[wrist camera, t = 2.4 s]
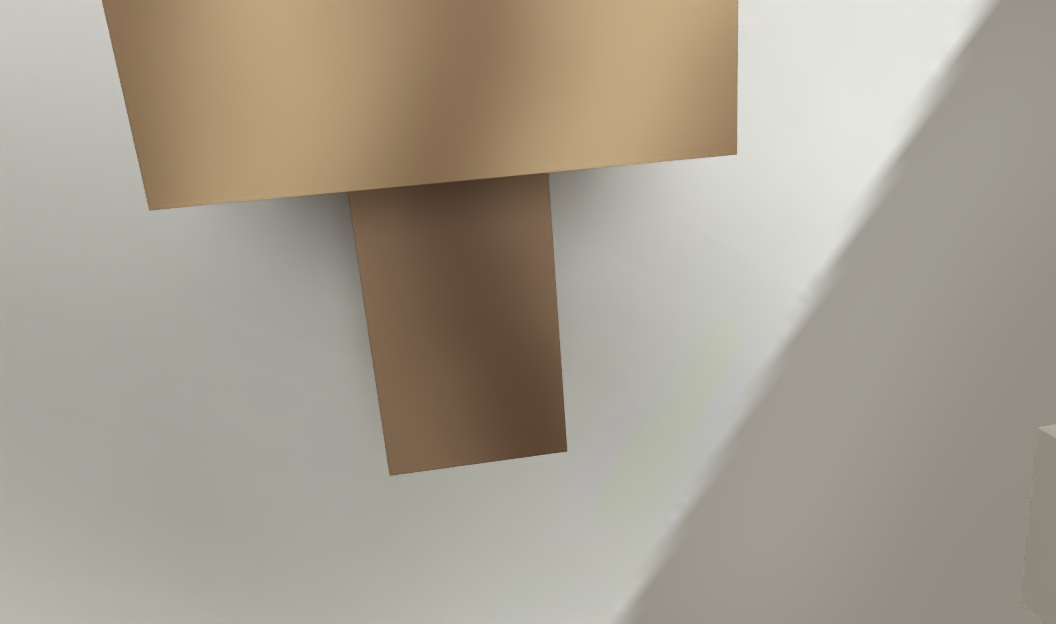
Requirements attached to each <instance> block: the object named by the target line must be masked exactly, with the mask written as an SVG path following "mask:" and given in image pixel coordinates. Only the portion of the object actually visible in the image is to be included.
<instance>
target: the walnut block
mask: <svg viewBox="0 0 1056 624" xmlns="http://www.w3.org/2000/svg"><path fill="white" fill-rule="evenodd" d="M348 198H349V205H350V212H351V218H352V225H353V232H354V239H355V245H356V252H357V259H358V266H359V272H360V279H361V286H362V293H363V299H364V306H365V313H366V320H367V326H368V333H369V340H370V347H371V353H372V360H373V367H374V373H375V380H376V387H377V394H378V400H379V407H380V414H381V421H382V427H383V434H384V441H385V448H386V454H387V461H388V468H389V475H390V476H391V475H398V474H405V473H413V472H420V471H427V470H435V469H442V468H449V467H457V466H464V465H471V464H479V463H486V462H493V461H501V460H508V459H515V458H523V457H530V456H537V455H545V454H552V453H559V452H566V451H567V441H566V427H565V412H564V397H563V383H562V368H561V353H560V339H559V324H558V310H557V295H556V280H555V266H554V251H553V236H552V222H551V207H550V193H549V178H548V172H547V173H537V174H526V175H516V176H505V177H495V178H484V179H474V180H463V181H453V182H442V183H432V184H421V185H411V186H400V187H390V188H379V189H369V190H358V191H348Z"/></svg>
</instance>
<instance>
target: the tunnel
mask: <svg viewBox="0 0 1056 624" xmlns="http://www.w3.org/2000/svg"><path fill="white" fill-rule="evenodd" d="M102 3H103V7H104V12H105V16H106V20H107V25H108V29H109V34H110V38H111V43H112V47H113V51H114V56H115V60H116V65H117V69H118V73H119V78H120V82H121V87H122V91H123V96H124V100H125V104H126V109H127V113H128V118H129V122H130V127H131V131H132V135H133V140H134V144H135V149H136V153H137V158H138V162H139V166H140V171H141V175H142V180H143V184H144V188H145V193H146V197H147V202H148V206H149V210H159V209H169V208H180V207H190V206H201V205H211V204H222V203H232V202H243V201H253V200H264V199H274V198H285V197H295V196H306V195H316V194H327V193H337V192H348V191H358V190H369V189H379V188H390V187H400V186H411V185H421V184H432V183H442V182H453V181H463V180H474V179H484V178H495V177H505V176H516V175H526V174H537V173H547V172H558V171H568V170H579V169H589V168H600V167H610V166H621V165H631V164H642V163H652V162H663V161H673V160H684V159H694V158H705V157H715V156H726V155H737V70H738V0H102Z"/></svg>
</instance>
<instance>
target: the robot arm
mask: <svg viewBox="0 0 1056 624" xmlns="http://www.w3.org/2000/svg"><path fill="white" fill-rule="evenodd" d="M1020 603H1021V604H1022V605H1023V606H1024V607H1025V608H1026V609H1027V610H1028V611H1029V612H1031V613H1032V614H1033V615H1034V616H1035V617H1036V618H1037V619H1038V620H1040V621H1041V622H1042V623H1043V624H1056V425H1050V426H1044V427H1038V428H1037V438H1036V448H1035V457H1034V467H1033V477H1032V487H1031V497H1030V506H1029V516H1028V526H1027V536H1026V546H1025V557H1024V566H1023V576H1022V586H1021V596H1020Z"/></svg>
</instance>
